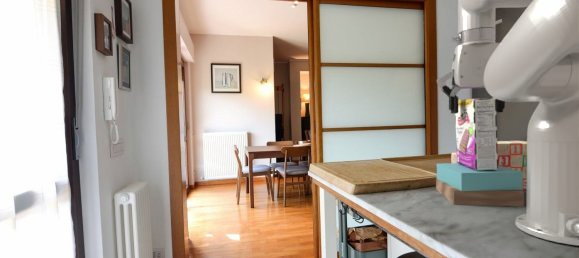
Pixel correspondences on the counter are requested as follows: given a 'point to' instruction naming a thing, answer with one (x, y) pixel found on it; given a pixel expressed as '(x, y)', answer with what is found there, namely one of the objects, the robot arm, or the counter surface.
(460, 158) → the candy bar box
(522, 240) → the counter surface
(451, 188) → the walnut base slab
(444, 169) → the teal top slab
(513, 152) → the stack of blocks
